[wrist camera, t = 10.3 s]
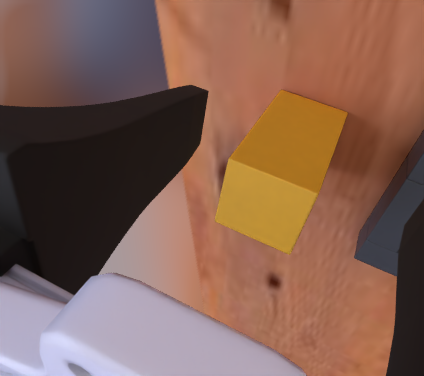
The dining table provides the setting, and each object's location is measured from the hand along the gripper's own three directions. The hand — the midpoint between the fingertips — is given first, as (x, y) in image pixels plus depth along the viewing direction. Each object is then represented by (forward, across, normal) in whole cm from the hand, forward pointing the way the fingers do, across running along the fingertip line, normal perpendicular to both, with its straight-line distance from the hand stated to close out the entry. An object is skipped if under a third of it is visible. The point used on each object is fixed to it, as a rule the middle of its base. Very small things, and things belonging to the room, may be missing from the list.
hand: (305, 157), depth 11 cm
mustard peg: (+10, +1, +5) cm, 12 cm away
